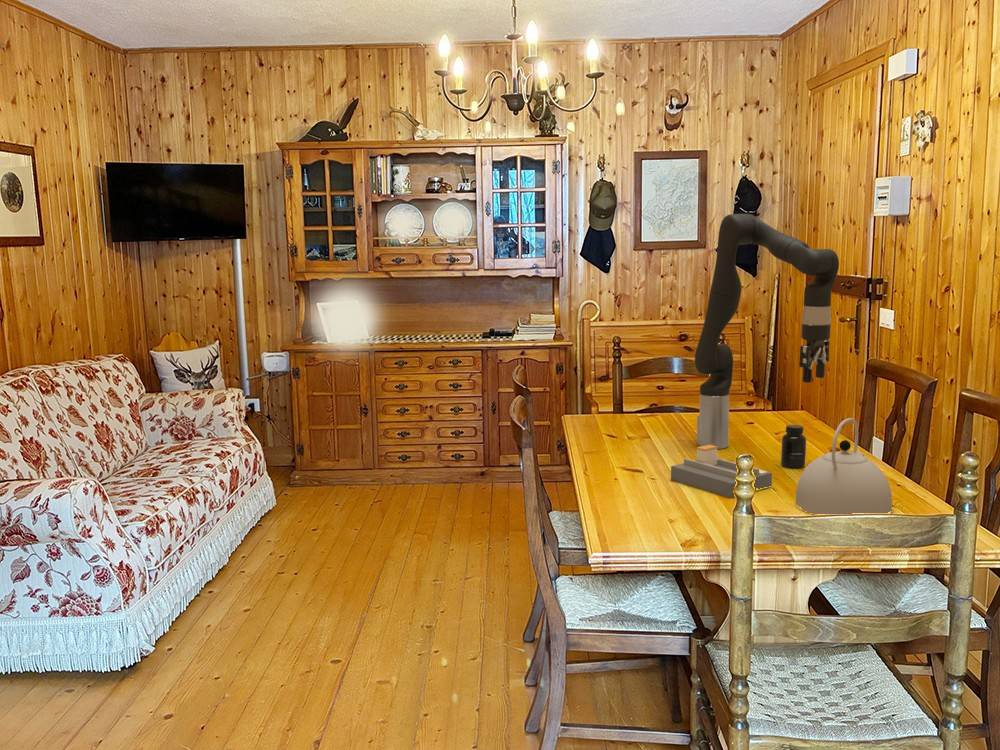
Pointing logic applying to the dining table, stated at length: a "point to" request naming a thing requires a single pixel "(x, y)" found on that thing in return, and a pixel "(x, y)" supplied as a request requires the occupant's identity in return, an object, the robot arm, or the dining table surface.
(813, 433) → the dining table surface
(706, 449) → the handle
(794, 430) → the supplement bottle
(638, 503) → the dining table surface
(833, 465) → the kettle
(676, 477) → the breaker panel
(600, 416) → the dining table surface
